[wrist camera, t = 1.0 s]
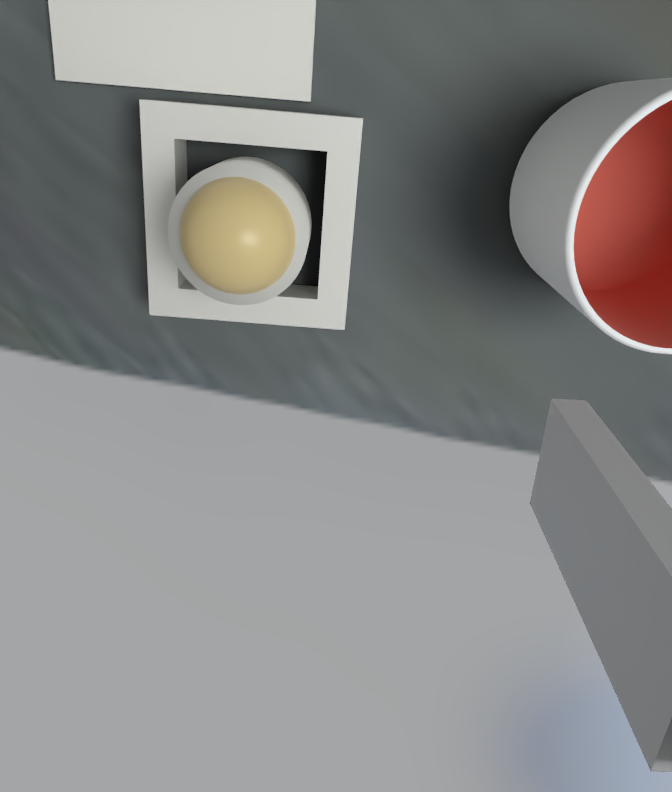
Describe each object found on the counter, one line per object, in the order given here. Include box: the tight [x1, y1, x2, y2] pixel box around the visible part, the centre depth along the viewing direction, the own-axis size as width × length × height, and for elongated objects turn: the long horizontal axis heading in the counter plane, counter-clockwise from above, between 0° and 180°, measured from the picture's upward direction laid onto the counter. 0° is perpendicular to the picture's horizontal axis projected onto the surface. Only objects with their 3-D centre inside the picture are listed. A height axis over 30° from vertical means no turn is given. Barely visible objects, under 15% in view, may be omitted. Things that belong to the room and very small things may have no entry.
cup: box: [509, 78, 672, 354], centre depth 28 cm, size 10×10×10 cm
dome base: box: [139, 100, 363, 330], centre depth 32 cm, size 10×10×2 cm
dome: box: [168, 157, 312, 305], centre depth 28 cm, size 6×6×6 cm
